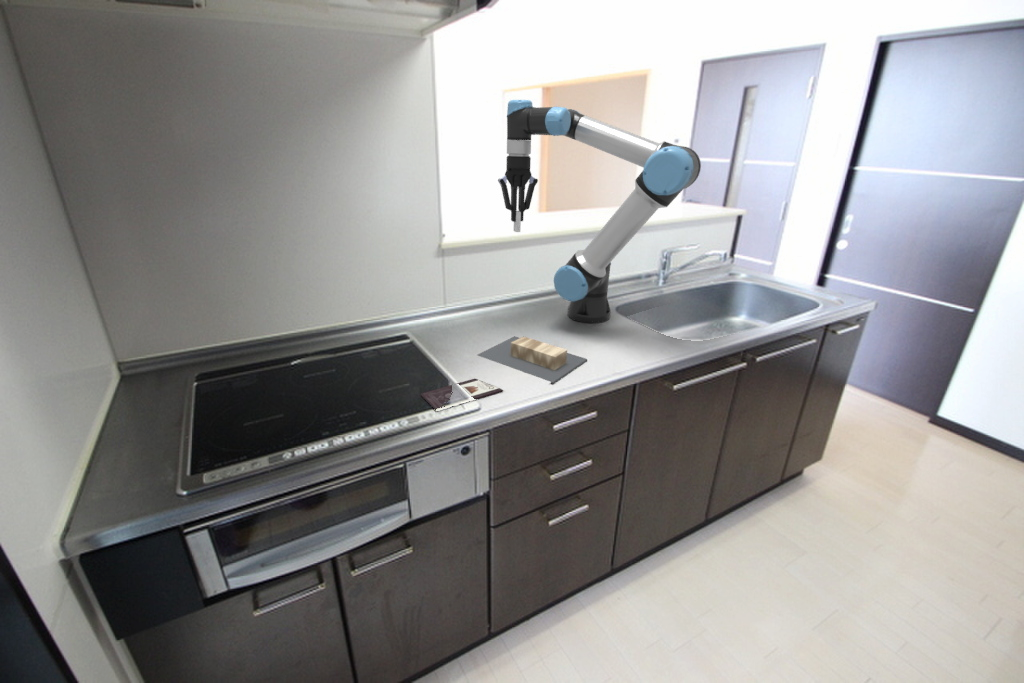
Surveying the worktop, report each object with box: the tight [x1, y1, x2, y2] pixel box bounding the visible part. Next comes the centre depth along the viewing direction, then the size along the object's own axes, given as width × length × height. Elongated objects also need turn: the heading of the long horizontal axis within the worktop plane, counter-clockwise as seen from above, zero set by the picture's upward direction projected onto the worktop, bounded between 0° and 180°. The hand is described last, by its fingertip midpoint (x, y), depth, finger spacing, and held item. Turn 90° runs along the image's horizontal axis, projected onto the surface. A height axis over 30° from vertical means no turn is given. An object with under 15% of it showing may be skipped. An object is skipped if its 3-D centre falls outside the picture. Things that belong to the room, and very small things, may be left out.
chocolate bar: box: [420, 378, 503, 411], centre depth 118 cm, size 9×1×18 cm
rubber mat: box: [477, 336, 588, 385], centre depth 137 cm, size 26×18×1 cm
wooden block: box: [511, 335, 568, 370], centre depth 134 cm, size 4×6×15 cm
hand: (516, 231), depth 158 cm, fingers closed
